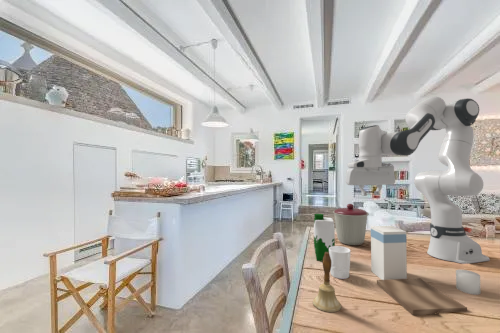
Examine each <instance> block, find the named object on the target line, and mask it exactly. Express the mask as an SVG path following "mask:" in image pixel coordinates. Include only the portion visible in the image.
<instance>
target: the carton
mask: <svg viewBox="0 0 500 333" xmlns="http://www.w3.org/2000/svg"><path fill="white" fill-rule="evenodd" d="M370 251H371V252H370V254H371V255H370V257H371V258H370V260H371V261H370V262H371V263H370V264H371V267H370V268H371V273H373V275H375V276H376V277H378V278H379V280H388V279H408V276H407V275H408V274H407V272H408V271H407V270H408V269H407V268H408V267H407V262H408V261H407V231H406V230H405V229H401V228H398V227H396V226H393V225H370Z"/></svg>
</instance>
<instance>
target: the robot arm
mask: <svg viewBox="0 0 500 333" xmlns="http://www.w3.org/2000/svg"><path fill="white" fill-rule="evenodd" d="M479 114H480V106H479V104H478V102H477V101H476V100H474V99H473V98H462V99H458V100H456V101H453V102H452V101H451V102H448V103H446V101H445V100H444V99H443V98H441V97H439V96H430V97H428V98H426V99H423V100H421V101H420V102H418V103H417V104H415V105H414V106H413V107H411V108H410V109H409V110H408V111H407V113H406V114H405V118H404V120H405V121H404V122H405V124H406V126H408V127H409V129H406V130H405V129H404V130H400V131H395V132H389V133H388V132H386V131H384V130H382V128H381V126H380V125H378V124H373V125H369V126H365V127H362V128H361V129H360V131H359V134H358V149H359V153H358V159H356V160H354V161H353V160H352V161H350V162H348V163H347V170H346V173H345V183H346V185H348V186H358V188H359V190H360V191H361V193H360V194H361V196H363V197H364V196H365V197H366V196H368V191H366V190H365V189H364V188H365V186H376V189H375V190H374V191H373V195H374V196H377V197H378V196H380V195H381V194H380V192H381V191H382V189H383V186H385V185H386V186H387V185H388V186H389V185H390V186H392V185H394V184H395V183H396V176H395V166H394V164H392V163H391V162H386V163H385V162H382V160H383V159H382V158H383V157H382V156H384V157H385V156H387V157H389V156H411V155H412V154H413V153H415V152H416V150H417V149H418V147H419V145H420V143H421V142H422V140H423V139H424V138H425V137H426V136H427V134H429V132H431V131H440V130H445V135H444V137H443V139H442V143H441V145H440V149H439V153H438V155H437V156H438V157H437V158H438V160H439V162H440V163H441V164H442V165H444V166H446V167H447V170H426V171H420V172H418V173H416V175H415V177H414V182H413V183H414V187H415V189H416V190H418V191H419V192H420V193H421V194H422V195H423V196H424V198H425V199H426V200H427V202H428V205H429V210H430V223H429V232H430V239H429V244H428V249H427V252H426V253H427V255H429V256H431V257H434V258H436V259H439V260H443V261H449V262H453V263H459V264H464V265H468V264H475V263H483V262H490V261H491V260H490V257H489V256H487V255H485V254H483V252H482V246H481V245H480V243H478V242H477V241H476V240H474V239H472V238H471V237H469V236H468V235H467V233H472V231H473V230H472V228H471V227H467V226H465V227H463V210H462V209H461V207H460V206H458V205H457V204H456V203H453V202H452V201H451V200H450V199H449V197H448V196H456V197H472V196H477V195H479V194H480V193H481V192H482V191H483V189H484V181H483V180H484V179H483V178H482V176H480V174H478V173H477V172H475V171H474V170H473V169H472V168H471V165H470V157H471V153H472V152H471V151H472V148H473V143H474V128H473V127H472V125H474V123H476V120H477V118H478V116H479Z"/></svg>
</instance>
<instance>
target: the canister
mask: <svg viewBox="0 0 500 333" xmlns="http://www.w3.org/2000/svg"><path fill="white" fill-rule="evenodd" d="M332 213H333V216H334V226H335V233H336V237H337V240H338V242H339V243H341V244H344V245H349V246H359V245H362V244H364V242H365V239H366V233H367V223H368V216H369V212H367V211H366V210H365V209H361V208H356V207H355V206H354V205H353V203H348V204H347V205H346V207H339V208H336V209H335V210H333V211H332Z"/></svg>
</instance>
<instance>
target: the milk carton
mask: <svg viewBox="0 0 500 333" xmlns="http://www.w3.org/2000/svg"><path fill="white" fill-rule="evenodd" d="M313 218H314V219H313V247H314V254H315V257H316V261H319V262H323V257H324V254H325V252H329V247H331V246H336V244H335V243H336V237H335V236H336V234H335V233H336V228H335V220H333V219H334V218H332V217H326V216H325V217H324V213H314V217H313Z"/></svg>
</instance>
